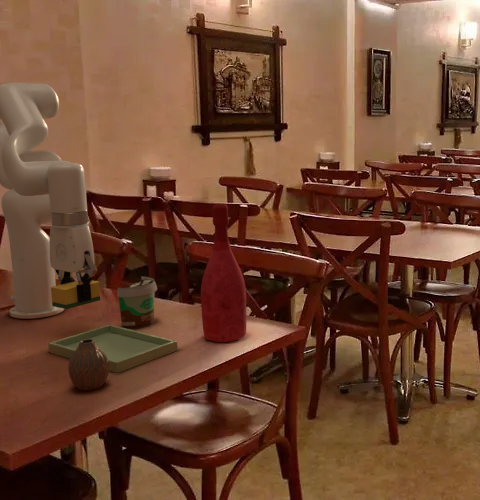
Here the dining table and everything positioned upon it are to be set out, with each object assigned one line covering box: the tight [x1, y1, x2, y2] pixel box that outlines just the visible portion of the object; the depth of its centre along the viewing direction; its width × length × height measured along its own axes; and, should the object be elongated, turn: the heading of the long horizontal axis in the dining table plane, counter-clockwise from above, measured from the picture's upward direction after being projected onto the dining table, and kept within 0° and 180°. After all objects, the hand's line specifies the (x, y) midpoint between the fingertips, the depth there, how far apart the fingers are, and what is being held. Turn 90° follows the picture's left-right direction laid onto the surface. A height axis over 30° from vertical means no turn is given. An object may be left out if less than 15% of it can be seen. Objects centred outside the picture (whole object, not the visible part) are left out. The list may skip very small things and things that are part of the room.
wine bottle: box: [200, 203, 247, 343], centre depth 155 cm, size 10×10×30 cm
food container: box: [116, 276, 158, 330], centre depth 166 cm, size 12×6×10 cm, turn 168°
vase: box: [68, 339, 110, 391], centre depth 128 cm, size 7×7×9 cm
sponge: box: [51, 280, 101, 310], centre depth 158 cm, size 5×9×4 cm, turn 147°
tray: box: [48, 324, 179, 374], centre depth 148 cm, size 22×16×2 cm
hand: (76, 298), depth 159 cm, fingers closed on sponge, 5 cm apart
